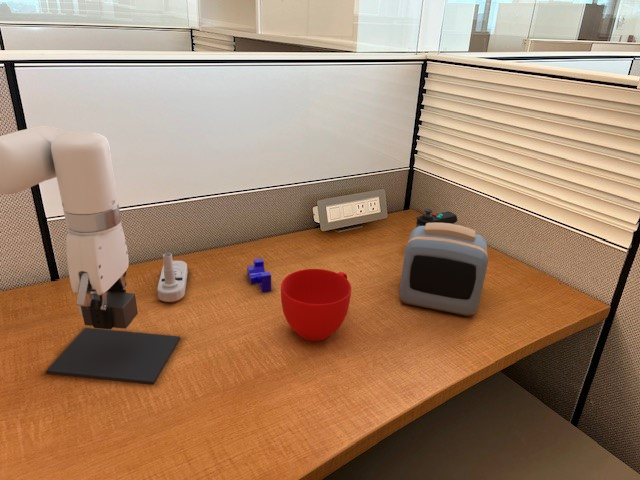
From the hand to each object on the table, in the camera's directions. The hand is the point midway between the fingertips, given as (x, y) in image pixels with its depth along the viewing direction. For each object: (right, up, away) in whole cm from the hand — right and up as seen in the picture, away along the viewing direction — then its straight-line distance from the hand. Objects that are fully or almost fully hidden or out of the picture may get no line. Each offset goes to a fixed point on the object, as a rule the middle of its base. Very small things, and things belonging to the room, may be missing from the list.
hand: (111, 317), depth 80 cm
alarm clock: (+61, +1, +27) cm, 67 cm away
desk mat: (-1, -7, +3) cm, 8 cm away
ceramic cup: (+35, -4, +14) cm, 38 cm away
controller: (+65, +12, +51) cm, 84 cm away
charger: (0, 0, 0) cm, 0 cm away
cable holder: (+21, +3, +27) cm, 35 cm away
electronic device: (+3, +3, +25) cm, 25 cm away
